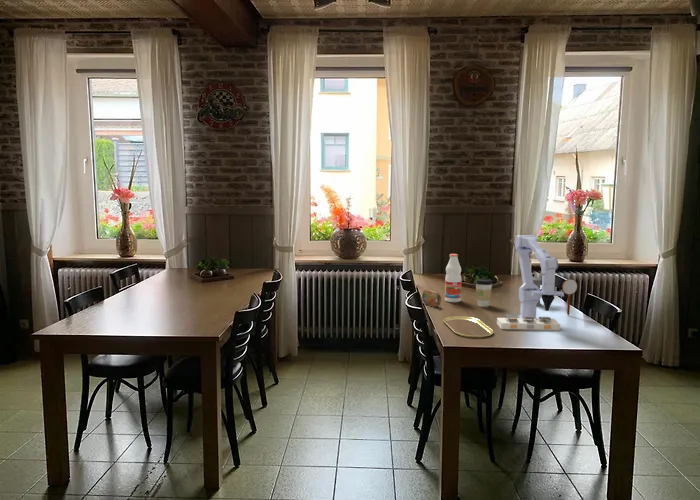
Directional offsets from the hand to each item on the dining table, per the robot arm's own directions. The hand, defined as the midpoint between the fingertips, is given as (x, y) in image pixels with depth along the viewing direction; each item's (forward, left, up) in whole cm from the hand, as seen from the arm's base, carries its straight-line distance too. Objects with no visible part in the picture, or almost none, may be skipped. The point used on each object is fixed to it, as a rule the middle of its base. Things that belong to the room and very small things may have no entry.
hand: (546, 310), depth 259 cm
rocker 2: (-3, -8, -5) cm, 10 cm away
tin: (-45, -52, -10) cm, 69 cm away
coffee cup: (-46, -22, -9) cm, 52 cm away
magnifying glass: (-26, +19, -9) cm, 33 cm away
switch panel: (-3, -8, -9) cm, 13 cm away
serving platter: (+1, -38, -10) cm, 39 cm away
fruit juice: (-57, -38, -9) cm, 69 cm away
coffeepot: (-52, +8, -9) cm, 53 cm away
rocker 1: (-3, -16, -5) cm, 17 cm away
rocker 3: (-3, 0, -5) cm, 5 cm away
